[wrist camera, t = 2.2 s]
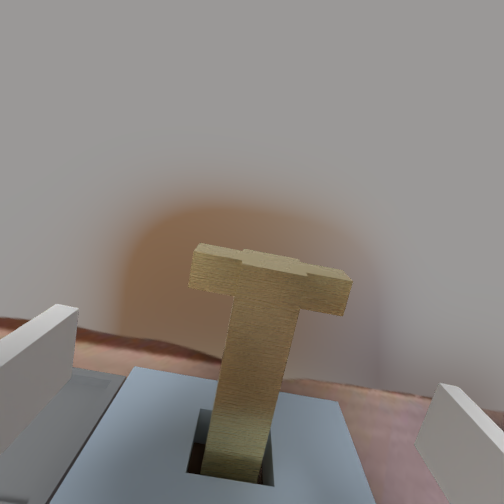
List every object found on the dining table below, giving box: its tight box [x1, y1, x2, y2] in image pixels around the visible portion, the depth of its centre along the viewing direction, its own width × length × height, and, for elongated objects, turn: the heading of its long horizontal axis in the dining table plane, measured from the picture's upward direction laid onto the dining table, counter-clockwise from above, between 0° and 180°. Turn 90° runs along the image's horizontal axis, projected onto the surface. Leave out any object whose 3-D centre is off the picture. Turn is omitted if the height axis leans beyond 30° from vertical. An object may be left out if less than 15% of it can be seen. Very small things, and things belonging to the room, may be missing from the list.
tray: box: [0, 367, 126, 504], centre depth 25 cm, size 14×14×2 cm
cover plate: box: [49, 366, 376, 504], centre depth 25 cm, size 20×14×4 cm
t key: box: [188, 243, 353, 484], centre depth 23 cm, size 10×4×18 cm, turn 90°
